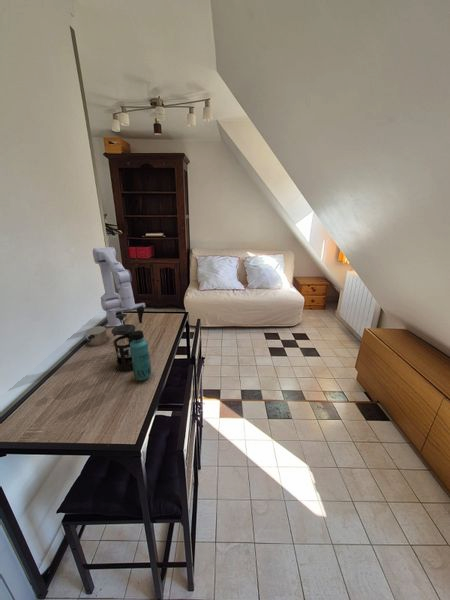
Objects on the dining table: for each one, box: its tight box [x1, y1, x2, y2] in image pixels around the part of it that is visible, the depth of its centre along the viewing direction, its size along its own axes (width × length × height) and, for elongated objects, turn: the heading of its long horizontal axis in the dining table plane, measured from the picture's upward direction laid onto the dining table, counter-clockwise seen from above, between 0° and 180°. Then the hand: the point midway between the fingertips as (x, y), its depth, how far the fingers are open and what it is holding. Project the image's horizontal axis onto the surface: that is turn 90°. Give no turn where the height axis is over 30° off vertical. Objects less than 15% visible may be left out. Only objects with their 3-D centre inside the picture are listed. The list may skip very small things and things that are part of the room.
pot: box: [84, 325, 108, 347], centre depth 124 cm, size 12×9×6 cm
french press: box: [111, 313, 136, 373], centre depth 101 cm, size 12×9×23 cm
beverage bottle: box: [130, 329, 152, 381], centre depth 93 cm, size 6×7×20 cm
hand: (132, 325), depth 117 cm, fingers open, 7 cm apart
